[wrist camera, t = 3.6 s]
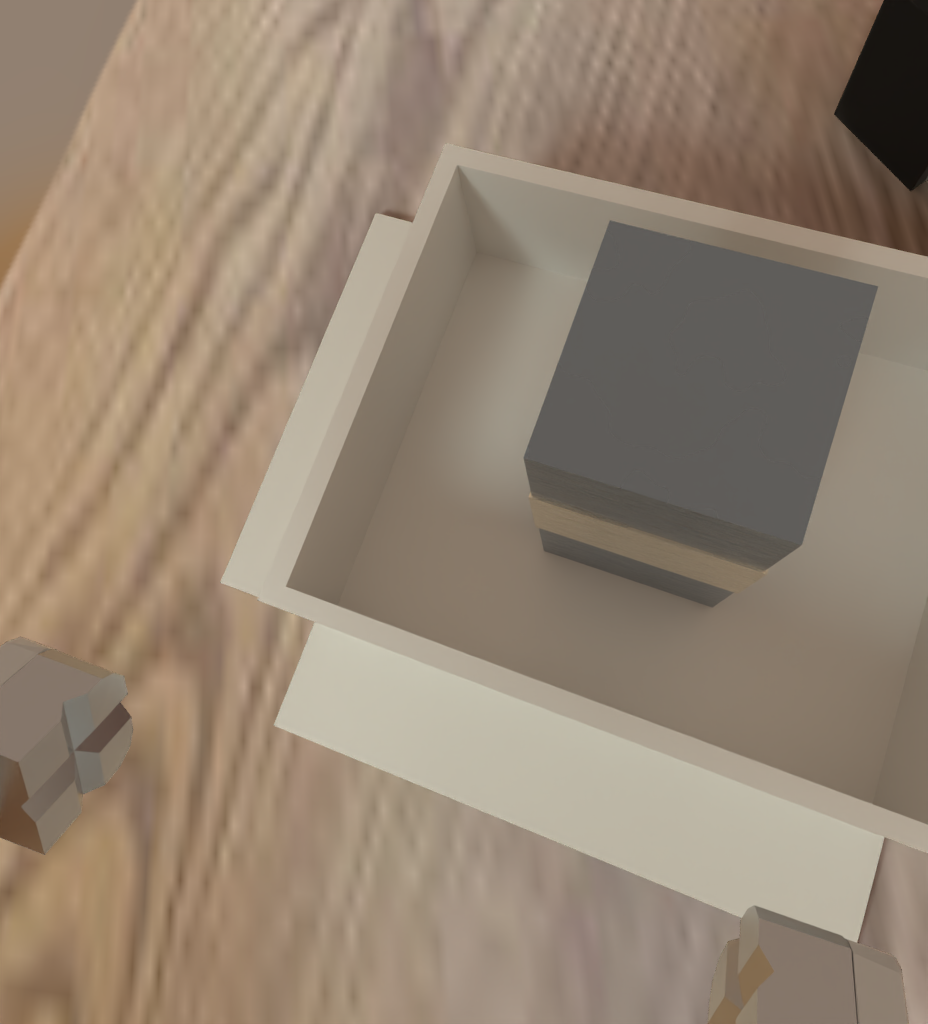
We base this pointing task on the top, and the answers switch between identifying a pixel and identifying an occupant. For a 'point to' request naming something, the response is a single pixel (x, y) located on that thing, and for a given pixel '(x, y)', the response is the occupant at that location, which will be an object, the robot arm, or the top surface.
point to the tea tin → (692, 412)
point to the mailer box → (589, 591)
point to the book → (893, 91)
